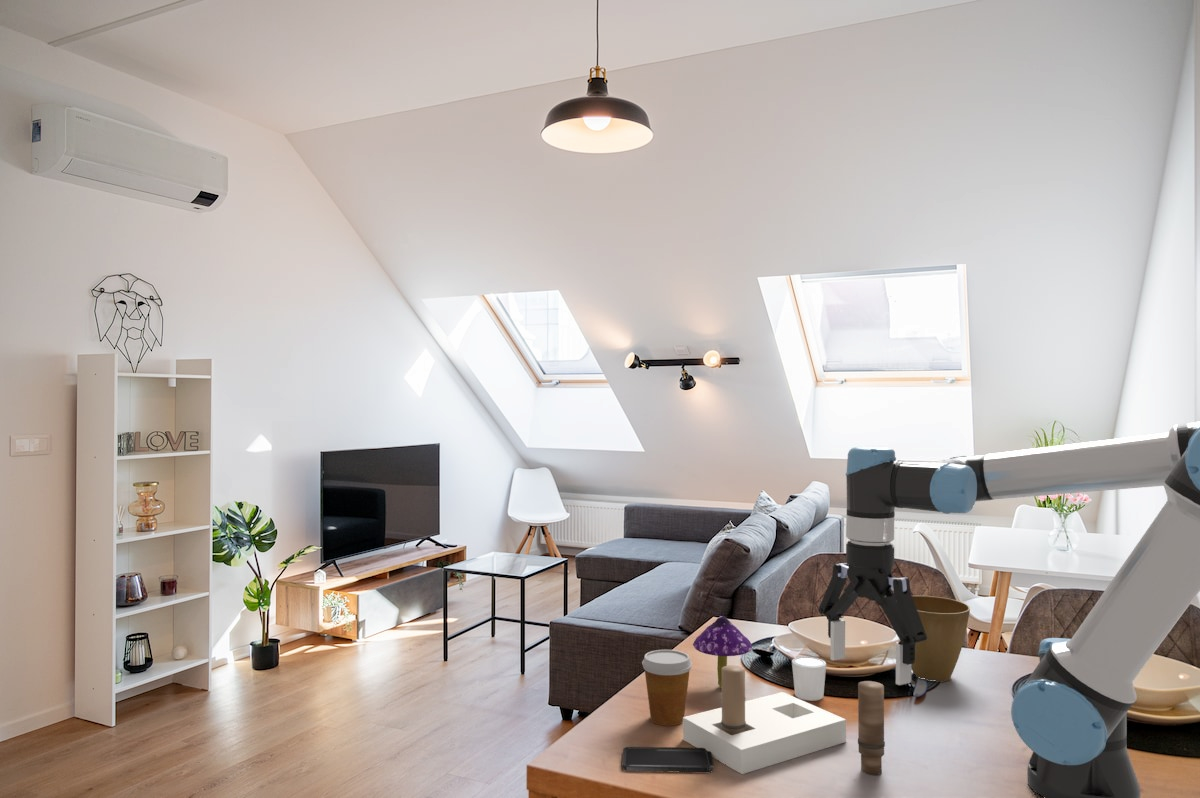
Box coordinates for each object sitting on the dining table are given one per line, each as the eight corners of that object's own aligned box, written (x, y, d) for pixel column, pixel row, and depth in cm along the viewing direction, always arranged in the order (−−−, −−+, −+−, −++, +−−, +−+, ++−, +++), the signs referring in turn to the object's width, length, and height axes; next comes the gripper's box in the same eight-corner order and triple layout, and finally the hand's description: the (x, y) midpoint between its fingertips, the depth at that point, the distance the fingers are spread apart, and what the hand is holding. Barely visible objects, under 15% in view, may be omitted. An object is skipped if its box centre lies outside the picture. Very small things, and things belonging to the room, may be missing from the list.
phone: (713, 768, 135) (622, 766, 136) (713, 775, 135) (622, 772, 136) (710, 747, 143) (623, 745, 144) (710, 754, 143) (623, 752, 144)
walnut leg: (890, 772, 135) (890, 686, 135) (872, 778, 133) (872, 691, 133) (870, 762, 139) (869, 679, 139) (852, 768, 137) (852, 683, 137)
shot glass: (827, 702, 166) (827, 667, 166) (792, 700, 167) (792, 665, 167) (825, 690, 173) (825, 657, 173) (791, 688, 174) (791, 655, 174)
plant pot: (898, 684, 176) (898, 609, 176) (895, 663, 190) (894, 593, 190) (974, 691, 171) (974, 614, 171) (965, 669, 186) (965, 597, 185)
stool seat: (846, 741, 147) (845, 663, 147) (741, 774, 135) (741, 688, 135) (782, 712, 161) (782, 640, 161) (682, 739, 149) (682, 661, 148)
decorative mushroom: (750, 678, 180) (750, 609, 180) (755, 699, 168) (754, 625, 168) (692, 676, 182) (692, 608, 182) (693, 697, 169) (692, 623, 169)
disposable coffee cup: (634, 723, 156) (633, 660, 156) (654, 706, 164) (654, 646, 164) (681, 733, 151) (680, 667, 151) (699, 715, 160) (699, 653, 160)
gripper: (951, 552, 127) (950, 690, 127) (829, 528, 148) (828, 646, 149) (919, 557, 123) (918, 699, 123) (798, 531, 145) (797, 653, 145)
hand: (869, 670), depth 136 cm, fingers open, 13 cm apart
